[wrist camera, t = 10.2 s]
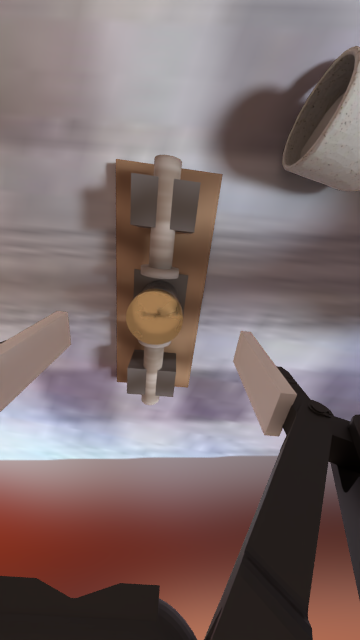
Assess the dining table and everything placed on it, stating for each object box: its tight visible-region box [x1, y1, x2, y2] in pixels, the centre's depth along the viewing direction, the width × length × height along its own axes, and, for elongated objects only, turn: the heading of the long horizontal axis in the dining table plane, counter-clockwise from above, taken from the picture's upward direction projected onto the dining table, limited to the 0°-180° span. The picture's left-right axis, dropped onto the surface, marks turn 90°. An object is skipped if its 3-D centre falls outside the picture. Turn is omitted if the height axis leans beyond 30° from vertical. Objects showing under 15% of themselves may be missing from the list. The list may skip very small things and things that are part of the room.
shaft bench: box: [116, 155, 223, 405], centre depth 24 cm, size 28×11×7 cm, turn 173°
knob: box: [126, 281, 183, 345], centre depth 22 cm, size 5×5×7 cm
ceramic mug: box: [282, 46, 360, 192], centre depth 17 cm, size 11×8×8 cm
